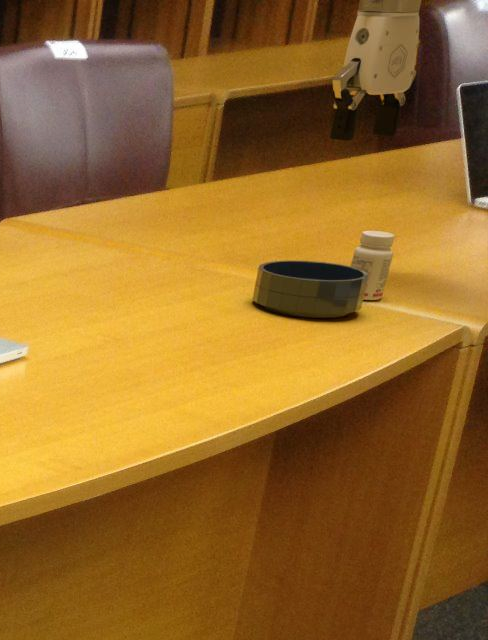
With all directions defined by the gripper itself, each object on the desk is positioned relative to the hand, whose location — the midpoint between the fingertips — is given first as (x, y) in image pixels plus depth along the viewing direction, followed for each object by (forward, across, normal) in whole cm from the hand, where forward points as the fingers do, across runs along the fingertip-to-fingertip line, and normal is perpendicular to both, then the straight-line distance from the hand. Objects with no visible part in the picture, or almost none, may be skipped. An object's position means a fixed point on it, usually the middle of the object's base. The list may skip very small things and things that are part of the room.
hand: (362, 137), depth 214 cm
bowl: (+19, -24, -12) cm, 32 cm away
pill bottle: (+19, -10, -11) cm, 25 cm away
